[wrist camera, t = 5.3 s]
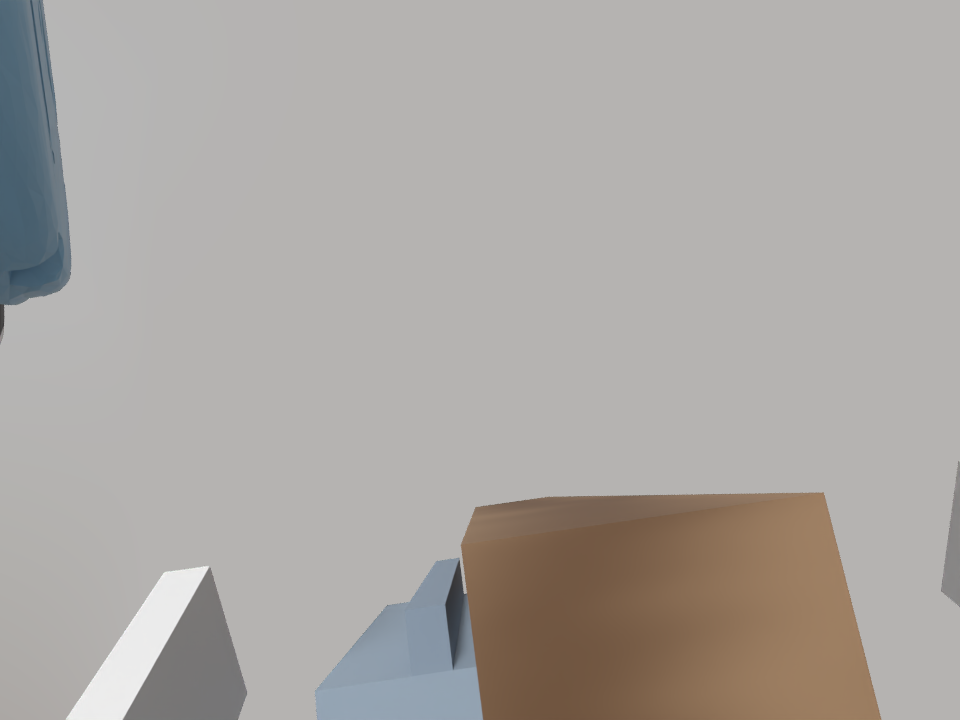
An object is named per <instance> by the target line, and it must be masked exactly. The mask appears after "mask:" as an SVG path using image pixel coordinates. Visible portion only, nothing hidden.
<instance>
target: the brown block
mask: <svg viewBox="0 0 960 720" xmlns="http://www.w3.org/2000/svg"><path fill="white" fill-rule="evenodd" d="M461 548H462V556H463V564H464V571H465V580H466V588H467V596H468V604H469V612H470V620H471V628H472V636H473V644H474V652H475V660H476V668H477V676H478V684H479V692H480V700H481V707H482V715H483V720H881V717H880V713H879V709H878V705H877V701H876V697H875V694H874V689H873V685H872V681H871V677H870V673H869V669H868V665H867V661H866V657H865V653H864V649H863V646H862V642H861V638H860V634H859V630H858V626H857V622H856V618H855V614H854V610H853V606H852V602H851V598H850V594H849V590H848V587H847V583H846V579H845V575H844V571H843V567H842V563H841V559H840V555H839V551H838V547H837V543H836V539H835V535H834V532H833V527H832V523H831V519H830V515H829V512H828V508H827V504H826V500H825V496H824V493H767V494H704V495H642V496H640V495H639V496H577V497H545V498H537V499H530V500H524V501H516V502H509V503H502V504H495V505H488V506H481V507H476V508H475V511H474V513H473V515H472V518H471V521H470V523H469V526H468V528H467V531H466V533H465V536H464V538H463V541H462V544H461Z"/></svg>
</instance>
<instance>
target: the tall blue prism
mask: <svg viewBox="0 0 960 720" xmlns="http://www.w3.org/2000/svg"><path fill="white" fill-rule="evenodd" d="M315 696H316V710H317V720H483V715H482V707H481V700H480V692H479V684H478V676H477V668H476V660H475V652H474V644H473V636H472V628H471V620H470V612H469V604H468V596H467V594H464V593H463V584H462V576H461V568H460V560H459V558H456V559H448V560H442V561H436V563H435V564H434V566H433V567H432V569H431V570H430V572H429V573H428V575H427V576H426V578H425V579H424V581H423V583H422V584H421V586H420V587H419V589H418V590H417V592H416V593H415V595H414V596H413V598H412V599H411V601H410V602H407V603H400V604H393V605H387V606H386V607H385V609H384V610H383V611H382V612H381V614H380V615H379V616H378V617H377V618H376V619H375V620H374V622H373V623H372V624H371V625H370V626H369V628H368V629H367V630H366V631H365V632H364V633H363V635H362V636H361V637H360V638H359V639H358V641H357V642H356V643H355V644H354V645H353V647H352V648H351V649H350V650H349V651H348V653H347V654H346V655H345V656H344V657H343V658H342V660H341V661H340V662H339V663H338V664H337V666H336V667H335V668H334V669H333V670H332V672H331V673H330V674H329V675H328V676H327V678H326V679H325V680H324V681H323V682H322V683H321V685H320V686H319V687H318V688H317V690H315Z"/></svg>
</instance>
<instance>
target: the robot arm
mask: <svg viewBox="0 0 960 720" xmlns="http://www.w3.org/2000/svg"><path fill="white" fill-rule="evenodd" d="M70 270H71V249H70V236H69V222H68V210H67V202H66V192H65V184H64V179H63V170H62V159H61V152H60V140H59V134H58V127H57V113H56V101H55V93H54V85H53V78H52V70H51V62H50V54H49V46H48V37H47V30H46V22H45V14H44V7H43V0H0V343H1V340H2V338H3V332H4V305H17V304H20V303H23V302H24V301H26V300H27V299H29V298H33V297H39V296H46V295H49V294H52V293H55V292H58V291H60V290H61V289H62V288H63V287H64V286H65V285H66V283H67V282H68V281H69V279H70V275H71V272H70ZM941 591H942V592H943V593H944V594H945V595H946V596H947V597H949V598H950V599H951V600H952V601H954V602H955V603H956V604H957V605H958V606H959V607H960V461H958V469H957V477H956V484H955V491H954V499H953V507H952V513H951V521H950V528H949V536H948V543H947V551H946V558H945V565H944V573H943V580H942V588H941ZM246 695H247V690H246V687H245V684H244V680H243V677H242V674H241V670H240V667H239V664H238V660H237V657H236V653H235V650H234V647H233V643H232V639H231V636H230V633H229V629H228V626H227V623H226V619H225V616H224V612H223V609H222V606H221V602H220V599H219V595H218V592H217V589H216V585H215V582H214V578H213V575H212V572H211V568H210V566H205V567H198V568H191V569H184V570H177V571H170V572H164V574H163V575H162V577H161V578H160V580H159V581H158V583H157V584H156V586H155V587H154V588H153V590H152V591H151V593H150V594H149V596H148V597H147V599H146V600H145V602H144V603H143V605H142V606H141V608H140V609H139V611H138V613H137V614H136V615H135V617H134V618H133V620H132V621H131V623H130V624H129V626H128V627H127V629H126V630H125V632H124V633H123V635H122V636H121V638H120V639H119V641H118V642H117V644H116V645H115V647H114V648H113V650H112V651H111V653H110V654H109V656H108V657H107V659H106V660H105V662H104V663H103V665H102V666H101V668H100V669H99V671H98V672H97V674H96V675H95V677H94V678H93V680H92V681H91V683H90V684H89V686H88V687H87V688H86V690H85V691H84V693H83V694H82V696H81V697H80V699H79V700H78V702H77V703H76V705H75V707H74V708H73V710H72V711H71V712H70V714H69V715H68V717H67V718H66V720H238V717H239V714H240V712H241V709H242V706H243V703H244V701H245V698H246Z"/></svg>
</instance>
